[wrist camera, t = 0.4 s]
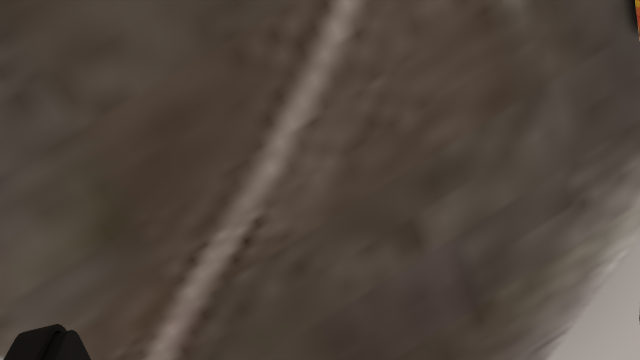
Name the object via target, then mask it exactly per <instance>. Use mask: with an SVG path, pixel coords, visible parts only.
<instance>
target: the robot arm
mask: <svg viewBox="0 0 640 360" xmlns="http://www.w3.org/2000/svg"><path fill="white" fill-rule="evenodd" d="M639 319H640V318H639ZM4 360H91V359H90V357H89V355H88V353H87V351H86V349H85V347H84V345H83V343H82V341H81V339H80V337H79V335H78V333H77V332H75V331H74V330H69V331H66V329H65V328H64V327H63V326H62V325H59V324H55V325H51V326H47V327H43V328H39V329H35V330H30V331H26V332H23V333H21V334H19V335H18V336H17V337H16V339H15V340H14V342H13V344H12V346H11V347H10V349H9V351H8V353H7V355H6V356H5V358H4Z"/></svg>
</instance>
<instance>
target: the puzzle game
mask: <svg viewBox="0 0 640 360" xmlns="http://www.w3.org/2000/svg"><path fill="white" fill-rule="evenodd" d="M635 5H636V13H637V22H638V30H639V39H640V0H635Z"/></svg>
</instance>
